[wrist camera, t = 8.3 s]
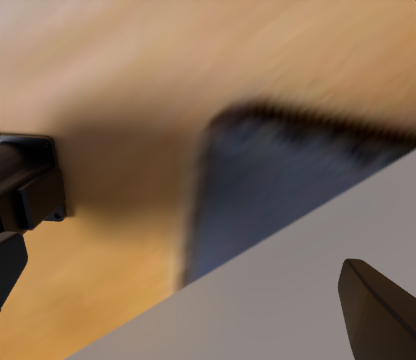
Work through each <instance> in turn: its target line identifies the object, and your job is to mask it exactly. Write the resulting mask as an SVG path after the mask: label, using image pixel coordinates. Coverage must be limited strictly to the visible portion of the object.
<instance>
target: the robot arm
mask: <svg viewBox="0 0 416 360" xmlns="http://www.w3.org/2000/svg"><path fill="white" fill-rule="evenodd" d="M44 142H46V143H47V144H48V147H47V146H45V144H44ZM57 213H59V214H60V215H61V216H59V215H58V214H57ZM66 216H67V213H66V207H65V192H64V186H63V180H62V174H61V169H60V168H59V165H58V160H57V154H56V148H55V143H54V141H53V140H52V139H51V138H50V137H46V136H29V135H12V134H0V312H1V307H2V306H3V304H4V303H5V301H6V299H7V297H8V296H9V294H10V292H11V290H12V289H13V287H14V285H15V283H16V282H17V280H18V278H19V276H20V275H21V273H22V271H23V270H24V268H25V266H26V264H27V261H28V254H27V250H26V246H25V242H24V238H23V234H24V233H25V232H27V231H28V230H33V229H34V228H35V227H37V226H38V225H39V224H40V223H41V222H42V221H56V222H60V221H63V220H64V219H65V218H66ZM338 292H339V297H340V301H341V306H342V310H343V315H344V319H345V324H346V329H347V333H348V338H349V342H350V346H351V349H352V352H353V355H354V358H355V360H416V298H415V297H414V296H412V295H411V294H409V293H408V292H407V291H405V290H404V289H402V288H401V287H400V286H398V285H397V284H395V283H394V282H392V281H391V280H390V279H388V278H387V277H385V276H384V275H383V274H381V273H380V272H378V271H377V270H376V269H374V268H373V267H371V266H370V265H369V264H367V263H366V262H364V261H362V260H360V259H346V260H345V261H344V263H343V266H342V270H341V274H340V278H339V282H338Z"/></svg>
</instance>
